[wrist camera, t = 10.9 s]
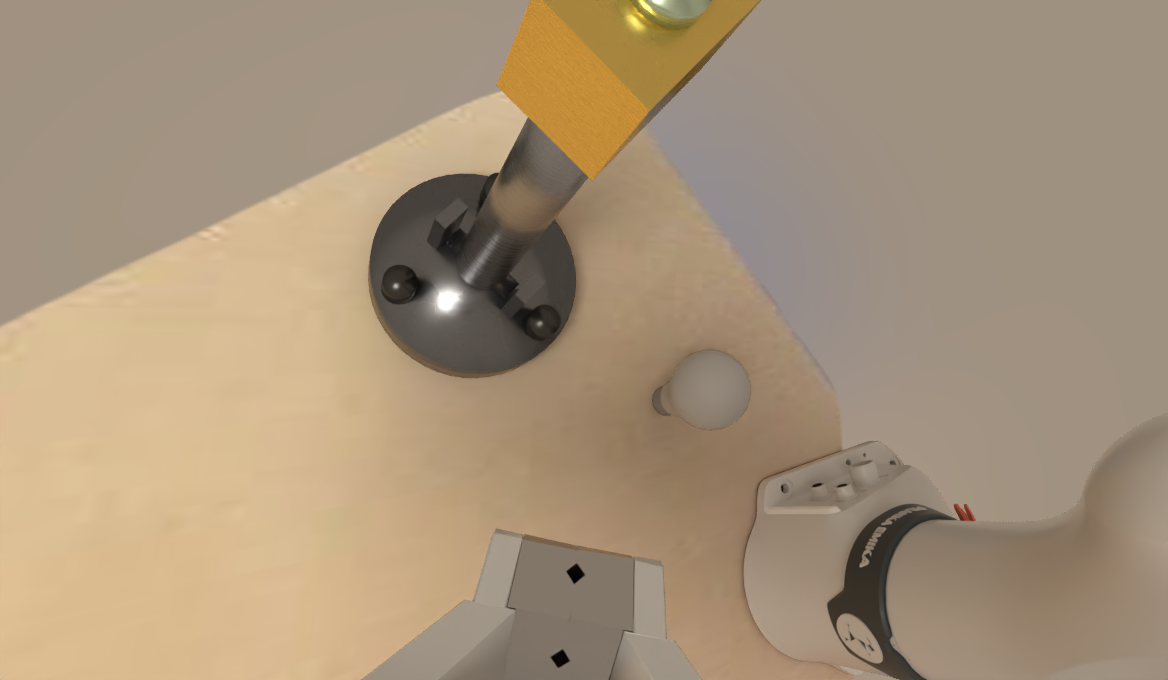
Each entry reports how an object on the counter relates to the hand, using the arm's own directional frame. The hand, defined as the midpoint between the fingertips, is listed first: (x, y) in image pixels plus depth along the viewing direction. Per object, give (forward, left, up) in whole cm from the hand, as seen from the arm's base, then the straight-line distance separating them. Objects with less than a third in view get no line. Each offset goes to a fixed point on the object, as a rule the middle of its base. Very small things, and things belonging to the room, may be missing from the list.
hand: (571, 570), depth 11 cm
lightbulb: (-24, +3, -38) cm, 45 cm away
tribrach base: (-13, -13, -38) cm, 42 cm away
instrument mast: (-13, -13, -34) cm, 38 cm away
